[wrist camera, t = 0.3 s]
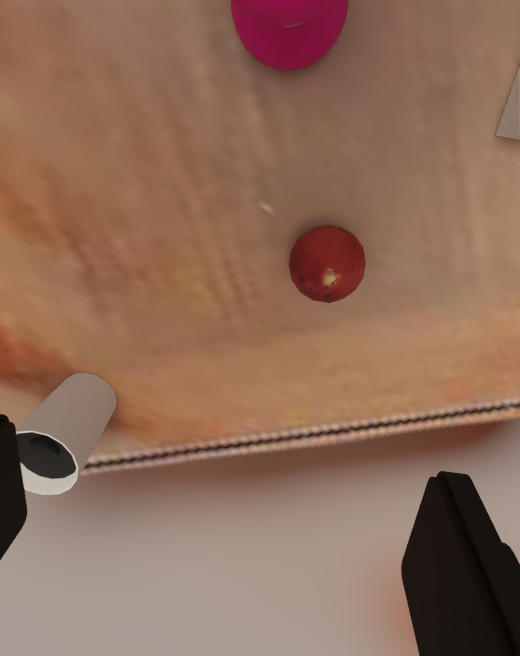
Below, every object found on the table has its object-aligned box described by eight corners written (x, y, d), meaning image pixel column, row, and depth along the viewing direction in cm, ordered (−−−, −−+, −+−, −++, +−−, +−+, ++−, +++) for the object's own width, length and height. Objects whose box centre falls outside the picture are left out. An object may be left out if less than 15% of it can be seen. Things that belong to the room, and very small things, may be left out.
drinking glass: (44, 378, 47) (-18, 441, 37) (101, 361, 45) (52, 421, 36) (76, 431, 49) (25, 502, 40) (132, 415, 48) (93, 485, 38)
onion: (351, 289, 40) (362, 326, 33) (285, 279, 40) (282, 314, 33) (365, 222, 38) (381, 246, 31) (295, 212, 38) (295, 234, 31)
